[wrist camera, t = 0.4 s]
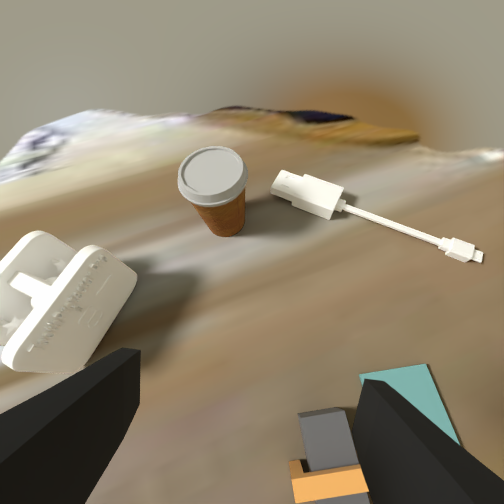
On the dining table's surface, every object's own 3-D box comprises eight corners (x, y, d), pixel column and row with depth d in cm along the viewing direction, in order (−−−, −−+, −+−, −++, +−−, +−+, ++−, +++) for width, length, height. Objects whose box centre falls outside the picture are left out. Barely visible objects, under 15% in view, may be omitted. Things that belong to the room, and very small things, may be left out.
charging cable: (469, 276, 37) (487, 268, 34) (269, 198, 45) (269, 185, 42) (475, 249, 39) (492, 238, 36) (281, 177, 47) (282, 164, 44)
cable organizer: (94, 258, 43) (37, 218, 33) (146, 279, 40) (101, 244, 30) (29, 346, 37) (-66, 331, 27) (85, 377, 34) (2, 375, 24)
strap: (371, 467, 27) (394, 487, 22) (292, 480, 28) (295, 503, 22) (366, 448, 28) (387, 464, 23) (288, 461, 28) (291, 479, 23)
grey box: (370, 542, 25) (388, 573, 21) (324, 550, 25) (333, 582, 21) (335, 406, 31) (344, 410, 27) (297, 413, 31) (300, 418, 27)
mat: (499, 546, 24) (504, 549, 24) (415, 559, 24) (418, 563, 24) (423, 364, 32) (425, 363, 31) (358, 374, 32) (360, 374, 31)
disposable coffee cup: (192, 210, 46) (166, 158, 35) (242, 191, 47) (231, 135, 36) (209, 254, 41) (185, 209, 31) (263, 232, 42) (258, 181, 32)
